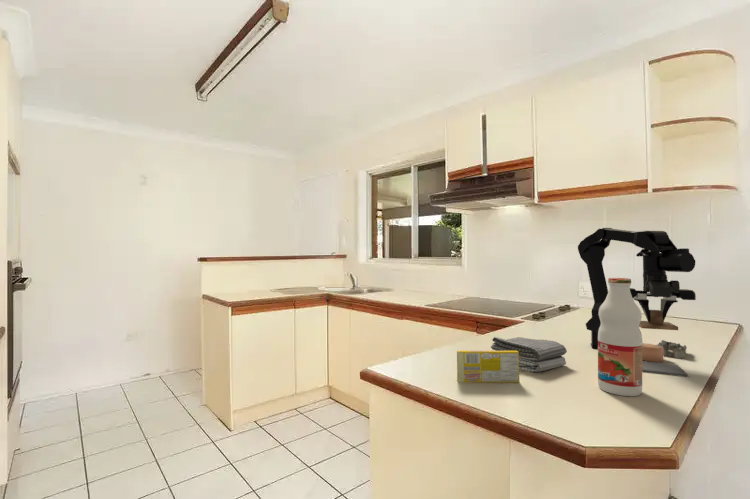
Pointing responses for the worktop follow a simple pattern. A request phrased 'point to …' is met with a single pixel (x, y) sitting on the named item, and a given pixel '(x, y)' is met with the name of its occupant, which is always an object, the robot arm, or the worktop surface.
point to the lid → (657, 322)
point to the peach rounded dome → (652, 353)
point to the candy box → (488, 366)
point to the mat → (662, 368)
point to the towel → (533, 352)
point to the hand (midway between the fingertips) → (655, 321)
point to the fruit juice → (620, 341)
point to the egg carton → (673, 349)
